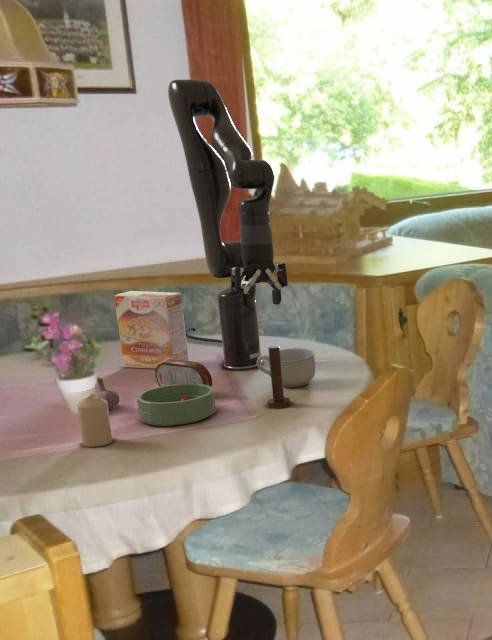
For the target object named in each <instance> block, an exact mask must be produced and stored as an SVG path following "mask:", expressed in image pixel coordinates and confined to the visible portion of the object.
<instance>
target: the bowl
mask: <svg viewBox="0 0 492 640" xmlns="http://www.w3.org/2000/svg"><path fill="white" fill-rule="evenodd" d="M183 397H189V398H191V399H189V400H184V401H180V400H181V399H182V398H183ZM215 399H216V398H215V390H214V387H213V386H212V387H211V386H208V385H203V384H192V383H189V384H174V385H166V386H161V387H159V386H157V387H154V388H150V389H147V390H144V391H142V392H139V394H138V395H137V396H136V401H137V408H138V409H137V410H138V416H139V421H140V422H142V423H143V424H148V425H151V426H157V427H174V426H182V425H189V424H193V423H197V422H200V421H202V420H204V419H207V418H208V417H211V416H212V415H214V414H215V412H216V411H217V409H216V408H217V407H216V400H215Z"/></svg>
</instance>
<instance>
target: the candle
mask: <svg viewBox="0 0 492 640" xmlns="http://www.w3.org/2000/svg"><path fill="white" fill-rule="evenodd" d="M90 395H91V394H90ZM90 395H88V396H87V397H85V398H82V400H80V401H79V402H78V403H77V404H76V407H77V414H78V422H79V428H80V434H81V441H82V445H83V446H84V447H86V448H87V447H88V448H94V447H95V448H96V447H102V446H106V445H109V444H110V443H112V442H113V433H112V426H111V419H110V412H109V411H110V410H109V411H108V404H107V401H106V400H104V399H102V398H101V397H98V396H97V395H91V396H90Z"/></svg>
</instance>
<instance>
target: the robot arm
mask: <svg viewBox="0 0 492 640" xmlns="http://www.w3.org/2000/svg"><path fill="white" fill-rule="evenodd" d="M167 95H168V101H169V106H170V109H171V112H172V116H173V119H174V122H175V125H176V128H177V131H178V134H179V138H180V141H181V144H182V148H183V153H184V157H185V161H186V167H187V173H188V177H189V181H190V184H191V185H190V186H191V190H192V193H193V198H194V201H195V204H196V210H197V213H198V217H199V222H200V223H199V224H200V228H201V235H202V236H201V237H202V243H203V249H204V256H205V261H206V265H207V268H208V271H209V273H210V275H211V276H212V277H213V278H215V279H217V280H223V279H229V278H230V285H228V286H227V287H225V288H223V289H222V290H220V291H219V292H218V293H217V306H218V307H217V308H218V316H219V325H220V334H221V339H217V338H207V337H201V336H194V335H190V332H191V331H192V332H195V331H196V328H195V326H190V327H189V328H187V330H186V331H185V332H186V338H188V339H190V340H196V341H202V342H210V343H219V344H221V345H222V353H223V361H224V362H223V363H224V364H223V367H224V368H225V369H227V370H232V371H237V370H238V371H241V370H250V369H255V368H258V366H257V359H258V358H259V357H260V356H262V353H261V342H260V331H259V321H258V311H257V302H256V293H257V284H260V283H267V284H268V285H269V286H270V288H272V289H271V298H272V304H273V305H276V306H277V305H281V302H282V289H283V288H284V287H288V285H289V283H288V275H287V267H286V264H285V263H284V262H276V263H274V259H275V257H274V256H275V255H274V243H273V242H274V241H273V231H272V227H271V216H270V204H271V198H272V193H273V189H274V183H275V171H274V168H273V166H272V164H271V163H270V162H269V161H267V160H264V159H252V157H253V152H252V150H251V148H250V146H249V145H248V143H247V142H246V141H245V140H244V138H243V137H242V136H241V134H240V133H239V131H238V130H237V129H236V126H235V125H234V123H233V121H232V118H231V116H230V114H229V112H228V109H227V107H226V105H225V103H224V101H223V99H222V97H221V95H220V93H219V91H218V89H217V87H215V85H214V84H213V83H212V82H211V81H209V80H207V79H173V80H171V81H170V82H169V85H168V89H167ZM194 117H195V118H197V117H198V118H199V117H209V118H210V119H211V121H213V124H212V127H211V132H210V133H211V134H210V139H211V144H212V146H213V147H212V146H211V145H210V143H208V142H207V140H206V139H205V137H203V135H202V134H201V132H200V131H199V128H198V126H197V124H196V122H195V121H196V120H195V118H194ZM231 186H233V187H235V188H236V189H239V190H254V193H253V194H252V196H251V197H249V198H246V199H242V200H241V201H239V203H238V214H239V215H238V216H239V217H238V218H239V240H232V241H223V240H222V236H221V235H222V234H221V222H222V219H223V215H224V212H225V210H226V208H227V205H228V202H229V200H230V197H231V191H232V188H231ZM274 271H275V272H276V276H275V275H274ZM261 364H262V365H263V359H262V360H261Z"/></svg>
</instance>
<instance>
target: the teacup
mask: <svg viewBox="0 0 492 640" xmlns="http://www.w3.org/2000/svg"><path fill="white" fill-rule="evenodd" d="M315 356H316V352H315V351H314V350H312V349H309V348H302V347H301V348H300V347H298V348H297V347H293V348H284V349H280V360H281V370H282V381H283V388H300V387H303V386H306V385H307V384H309V383H310V381H312V380H313V379H314V377H315V375H316V359H315ZM261 360H262V361H263V360H266V361H267V362H268V364H269V366H270V360H269V354H268V355H267V354H261V356H260V357H259V358H258V359H257V366H258V367H257V368H258V370H260V371H261V372H262V373H264V374H266V375H268V376H269V377H270V378H271V371H270V369H268V368H266V367H265V366H264V365H263V363H262V364H261Z"/></svg>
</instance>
